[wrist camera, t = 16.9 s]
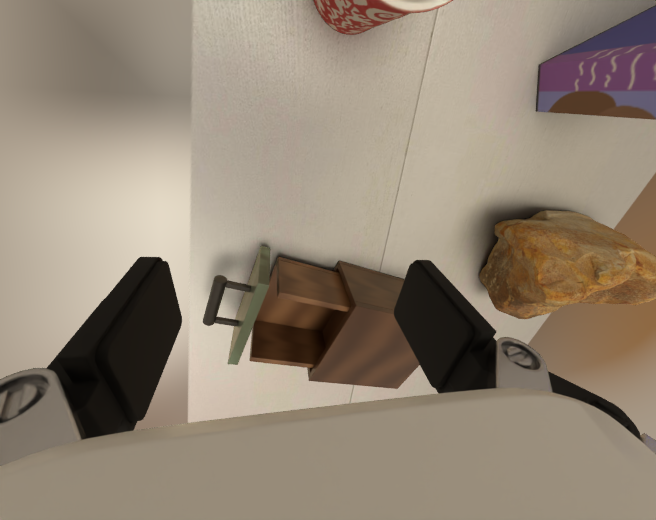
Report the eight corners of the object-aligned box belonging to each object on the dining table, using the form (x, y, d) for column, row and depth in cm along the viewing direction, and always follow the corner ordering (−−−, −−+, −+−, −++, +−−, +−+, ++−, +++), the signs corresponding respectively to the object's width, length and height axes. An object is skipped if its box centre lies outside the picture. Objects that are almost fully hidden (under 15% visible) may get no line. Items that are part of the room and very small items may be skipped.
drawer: (205, 313, 37) (191, 360, 30) (226, 235, 31) (214, 273, 24) (322, 333, 43) (330, 374, 37) (357, 272, 38) (375, 309, 31)
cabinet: (302, 328, 43) (308, 380, 35) (338, 260, 37) (356, 305, 29) (377, 341, 49) (397, 388, 41) (420, 284, 42) (453, 327, 35)
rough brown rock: (429, 280, 44) (487, 360, 32) (489, 189, 34) (601, 256, 23) (525, 288, 51) (601, 355, 39) (597, 214, 41) (725, 275, 30)
